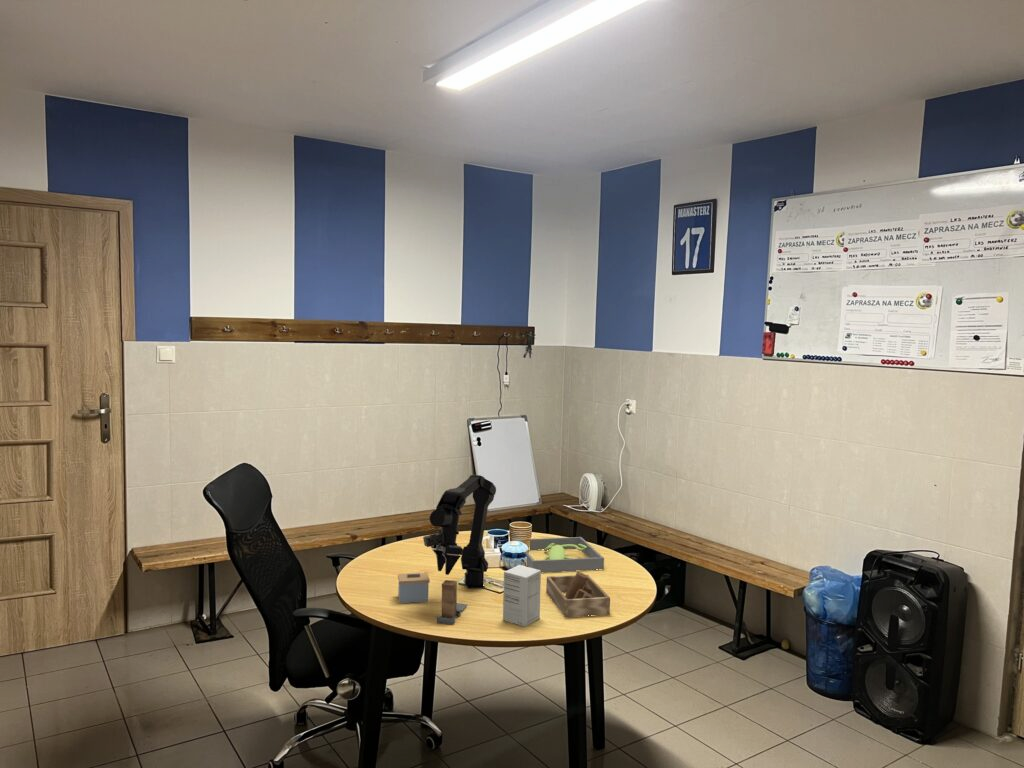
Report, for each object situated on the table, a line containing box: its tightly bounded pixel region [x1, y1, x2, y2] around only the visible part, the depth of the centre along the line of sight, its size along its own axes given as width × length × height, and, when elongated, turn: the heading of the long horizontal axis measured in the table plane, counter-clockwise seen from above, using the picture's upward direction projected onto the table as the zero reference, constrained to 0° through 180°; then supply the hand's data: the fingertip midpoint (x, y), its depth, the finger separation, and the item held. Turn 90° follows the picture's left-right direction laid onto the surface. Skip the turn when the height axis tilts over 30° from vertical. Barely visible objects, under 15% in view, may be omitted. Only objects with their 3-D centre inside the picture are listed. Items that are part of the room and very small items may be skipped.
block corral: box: [545, 574, 611, 618], centre depth 267 cm, size 16×24×6 cm, turn 13°
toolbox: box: [397, 572, 431, 604], centre depth 266 cm, size 11×8×9 cm
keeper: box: [435, 609, 462, 625], centre depth 249 cm, size 8×6×2 cm
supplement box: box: [502, 564, 542, 627], centre depth 250 cm, size 10×9×17 cm
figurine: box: [542, 543, 587, 560], centre depth 315 cm, size 18×27×6 cm
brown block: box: [440, 579, 458, 619], centre depth 249 cm, size 4×4×12 cm
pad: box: [456, 602, 468, 613], centre depth 259 cm, size 6×6×1 cm
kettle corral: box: [526, 536, 605, 574], centre depth 315 cm, size 30×30×5 cm
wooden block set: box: [564, 571, 593, 599], centre depth 266 cm, size 18×9×10 cm, turn 178°
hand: (443, 572), depth 258 cm, fingers open, 9 cm apart
